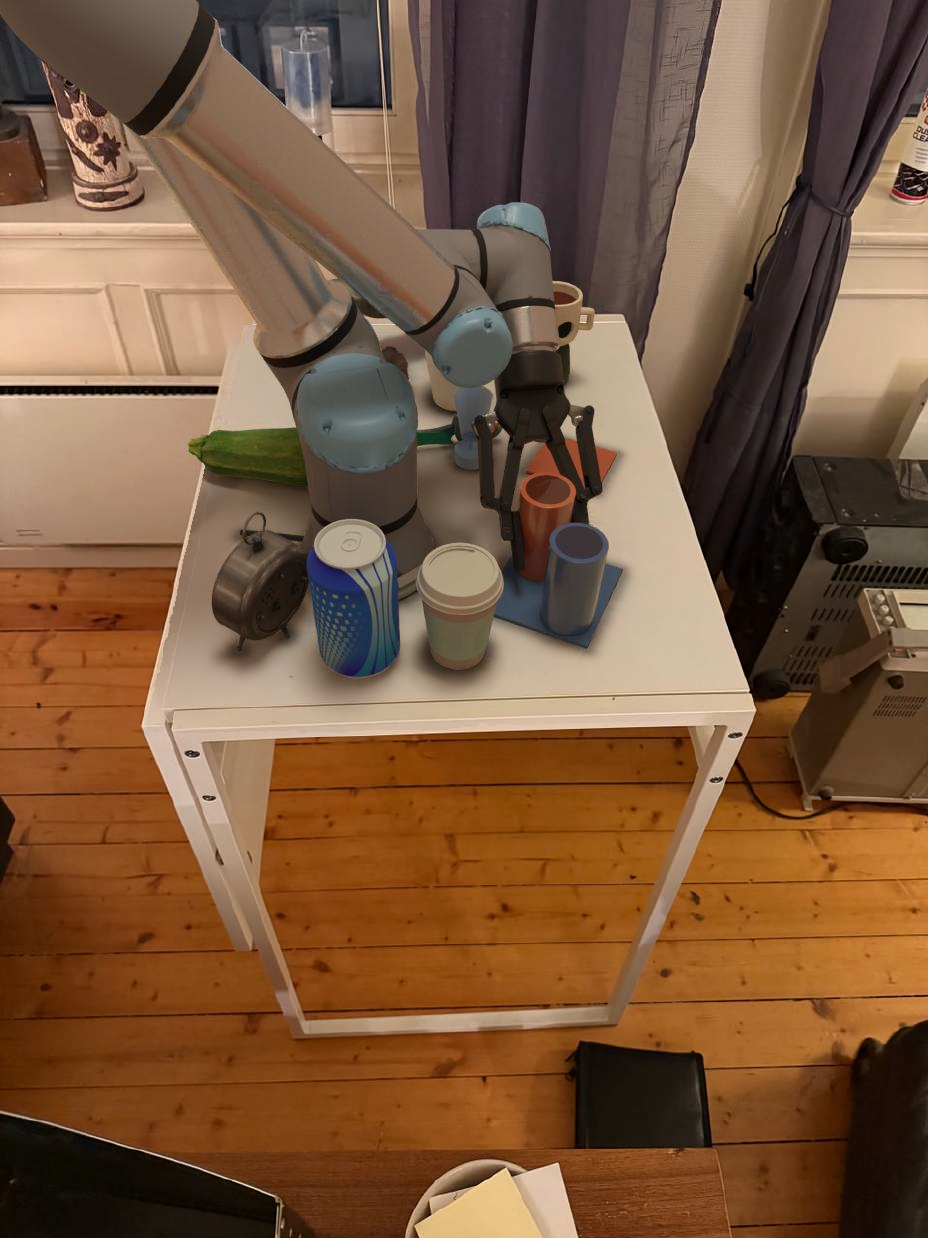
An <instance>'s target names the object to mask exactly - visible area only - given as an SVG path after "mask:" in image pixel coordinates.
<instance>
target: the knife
mask: <svg viewBox="0 0 928 1238" xmlns="http://www.w3.org/2000/svg"><path fill="white" fill-rule="evenodd" d="M494 426H495V430H494V432H493V433H492V434H491V435H492V440H494V439H495V438H497V437H498V436H499V435H500V434H501V432H502V431H503V430H504V429H503V428H502V427H501V426H500V424H499V423H498V422H495V424H494ZM454 436H455V439H456V440H457V441H458V442H460V441H462V440H463V439H462V437H461V432H460V427H459V421H458V416H457V413H454V415H453V417H452V420H451V423H449V424H444V425H442V426H438V427H432V428H425V429H417V447H421V446H431V445H432V446H433V445H440V446H442V445H443V446H455V444H454V442H453V440H452V438H453V437H454Z"/></svg>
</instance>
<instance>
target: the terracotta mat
mask: <svg viewBox="0 0 928 1238" xmlns="http://www.w3.org/2000/svg"><path fill="white" fill-rule="evenodd" d="M564 438H565V444H566V446H567V449H568V451H569V453H570V456H571V458H572V460H573V463H574V465H575V467H576V470H577V472H578V474H579V477H580V479H581V482H582V484H583V486H584V489H585V485H584V479H583V474H582V468H581V462H580V456H579V450H578V444H577V440H574V439H571V438H567V437H564ZM595 448H596V453H597V459H598V465H599V471H600V477H601V483H602V484H603V481H604V480H605V478H606V476H607V474H608V472H609V470H610V468H611V466H612V464H613V463H614V461H615V459H616V457H617V455H618V452H617V451H613V450H609V449H606V448H603V447H599V446H596V445H595ZM540 472H551V473H556V474H559V475H560V473H559V471H558V468H557V466H556V464H555V461H554V459H553V457H552V454H551V452H550V450H549V449H548V448H547V446H546V444H545V442H542V445H541V446H540V448H539V450H538V451H537V453H536V455H535V456H534V457H533V458H532V460H531V462H530V464H529V465H528V467H527V468H526V470H525V474H527V475H532V474H535V473H540Z"/></svg>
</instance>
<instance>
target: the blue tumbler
mask: <svg viewBox="0 0 928 1238" xmlns="http://www.w3.org/2000/svg"><path fill="white" fill-rule="evenodd" d="M609 548H610V543H609V540H608V538H607V536H606V535H605V533H604V532H603V531H602V530H600V529H599V528H598V527H595V526H594V525H592V524H589V525H588V524H584V523H568V524H564V525H561V526H559V527H558V528H556V529H555V530H554V531H553V532H552V534H551V535H550V539H549V546H548V553H547V560H546V568H545V575H544V582H543V590H542V597H541V604H540V612H539V615H540V619H541V621H542V623H543V624H544V626H545V627H546V628H548V629H549V630H550V631H552V632H554V633H556V634H559V635H564V636H575V635H579V634H582V633H584V632H586V631H587V630H588V629H589V628H590V627H591V626H592V624H593V621H594V616H595V611H596V607H597V602H598V597H599V592H600V587H601V582H602V578H603V573H604V568H605V563H606V564H607V558H608V553H609Z"/></svg>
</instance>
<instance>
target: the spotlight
mask: <svg viewBox="0 0 928 1238" xmlns="http://www.w3.org/2000/svg"><path fill="white" fill-rule="evenodd" d="M493 397H494V395H493V392H492V391H491V390H490V389H488V388H487V387H485V386H480V387H476V388H463V387H462V388H460V389H458V390H457V391H456V392H455V393H454V399H455V405H456V410H457V411H456V415H457V417H458V421H459V427H460V432H461V437H462V439H463V440H462V441H460V442H459V441H458V442H457V443H456V444H455V445H454V452H453V456H454V457H453V458H454V463H455V464H456V465H457V466H458V467H459V468H461V469H465V470H470V471H474V470H479V463H478V442H477V439H476V436H475V434H474V431H473V429H472V426H471V423H472V421H473V420H474V419H475V418H476V417H477V416H478V415H482V416H484V415H487V414H489V413H491V407H492V402H493Z"/></svg>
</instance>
